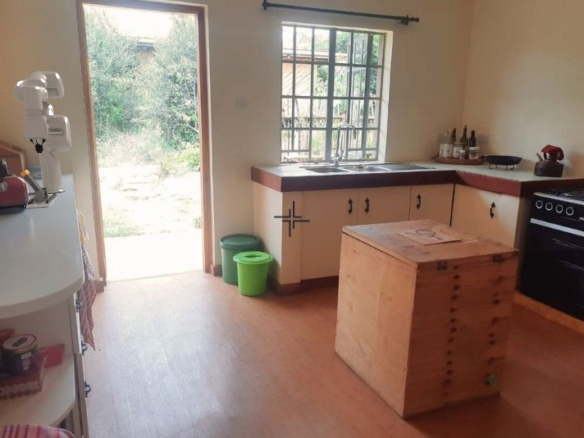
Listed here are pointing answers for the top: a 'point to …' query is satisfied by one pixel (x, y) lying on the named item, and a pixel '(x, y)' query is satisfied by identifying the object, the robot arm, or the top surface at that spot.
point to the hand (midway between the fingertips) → (39, 152)
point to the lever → (30, 180)
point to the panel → (39, 204)
